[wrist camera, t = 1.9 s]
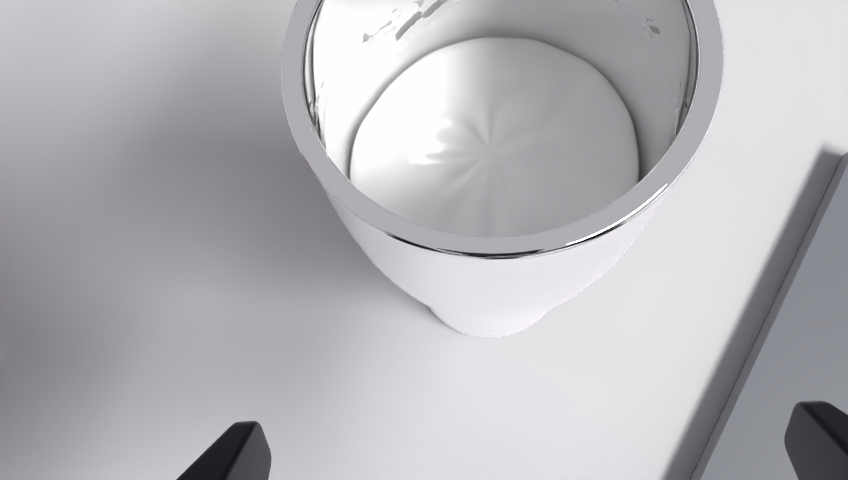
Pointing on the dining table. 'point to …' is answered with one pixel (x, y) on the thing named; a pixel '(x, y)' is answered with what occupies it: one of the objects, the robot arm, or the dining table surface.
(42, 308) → the dining table surface
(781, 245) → the dining table surface
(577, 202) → the beer glass
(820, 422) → the robot arm
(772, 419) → the base plate
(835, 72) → the dining table surface
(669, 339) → the dining table surface
